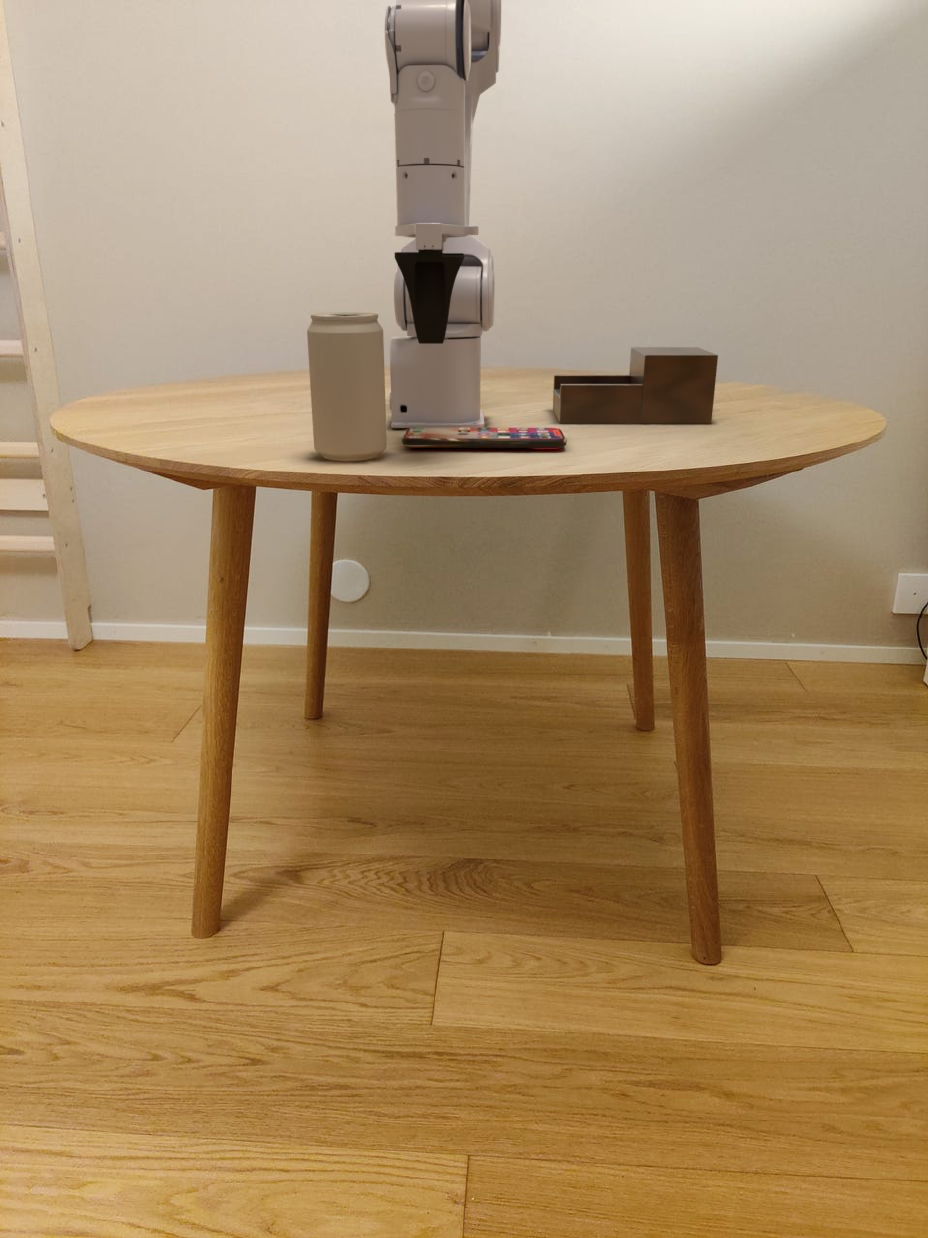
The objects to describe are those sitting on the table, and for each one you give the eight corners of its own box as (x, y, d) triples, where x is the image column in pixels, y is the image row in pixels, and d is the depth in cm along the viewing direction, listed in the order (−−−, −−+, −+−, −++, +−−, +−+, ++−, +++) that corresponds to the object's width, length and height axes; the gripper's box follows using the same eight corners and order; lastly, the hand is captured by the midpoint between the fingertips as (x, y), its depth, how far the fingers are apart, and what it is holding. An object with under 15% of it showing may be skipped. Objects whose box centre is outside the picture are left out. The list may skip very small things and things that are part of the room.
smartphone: (406, 426, 90) (561, 426, 89) (406, 436, 90) (560, 436, 90) (400, 439, 83) (567, 439, 82) (400, 449, 83) (567, 450, 83)
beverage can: (398, 451, 83) (394, 311, 79) (368, 465, 78) (363, 315, 73) (334, 446, 85) (327, 310, 81) (301, 460, 80) (291, 314, 75)
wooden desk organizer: (559, 423, 97) (562, 354, 95) (552, 410, 105) (554, 346, 103) (711, 423, 97) (718, 355, 94) (692, 410, 105) (698, 347, 103)
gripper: (480, 159, 69) (479, 346, 74) (476, 175, 83) (476, 333, 88) (387, 159, 69) (392, 346, 74) (398, 175, 83) (402, 333, 88)
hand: (432, 339), depth 81 cm, fingers open, 7 cm apart
